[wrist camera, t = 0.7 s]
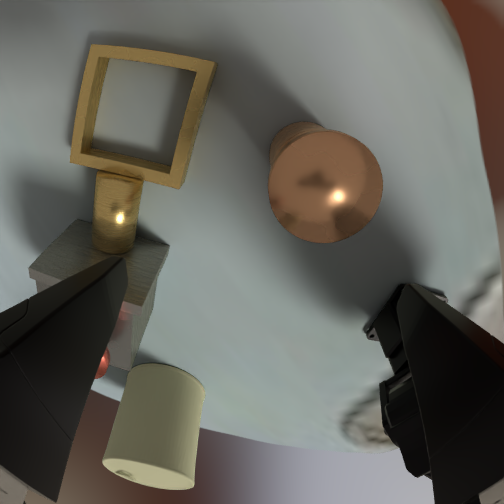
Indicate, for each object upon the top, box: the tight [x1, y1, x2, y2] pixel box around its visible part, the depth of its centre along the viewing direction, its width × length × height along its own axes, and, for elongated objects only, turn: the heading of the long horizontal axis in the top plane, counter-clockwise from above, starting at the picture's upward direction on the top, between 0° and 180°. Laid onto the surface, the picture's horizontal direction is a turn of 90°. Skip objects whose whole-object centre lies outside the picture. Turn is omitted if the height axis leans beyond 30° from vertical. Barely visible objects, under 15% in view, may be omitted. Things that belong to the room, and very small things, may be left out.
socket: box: [70, 44, 218, 189], centre depth 17 cm, size 8×8×2 cm
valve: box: [29, 170, 170, 379], centre depth 18 cm, size 8×12×9 cm
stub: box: [268, 122, 383, 243], centre depth 16 cm, size 5×5×7 cm
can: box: [102, 363, 205, 490], centre depth 27 cm, size 9×9×12 cm
